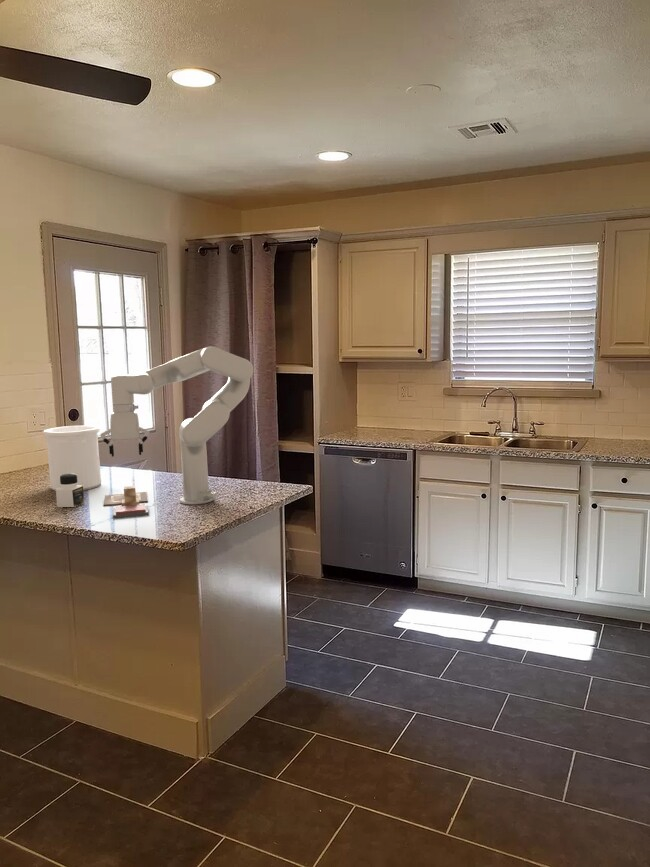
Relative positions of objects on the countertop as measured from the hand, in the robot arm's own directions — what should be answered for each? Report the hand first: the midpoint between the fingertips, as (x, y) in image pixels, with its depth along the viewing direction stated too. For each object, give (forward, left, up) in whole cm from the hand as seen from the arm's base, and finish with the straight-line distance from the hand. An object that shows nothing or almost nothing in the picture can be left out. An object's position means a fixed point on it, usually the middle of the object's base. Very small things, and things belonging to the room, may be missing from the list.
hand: (126, 455), depth 249 cm
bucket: (+47, -19, -20) cm, 54 cm away
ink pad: (-7, +7, -20) cm, 22 cm away
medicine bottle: (+24, +6, -20) cm, 32 cm away
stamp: (0, 0, -20) cm, 20 cm away
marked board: (+10, -9, -20) cm, 24 cm away
